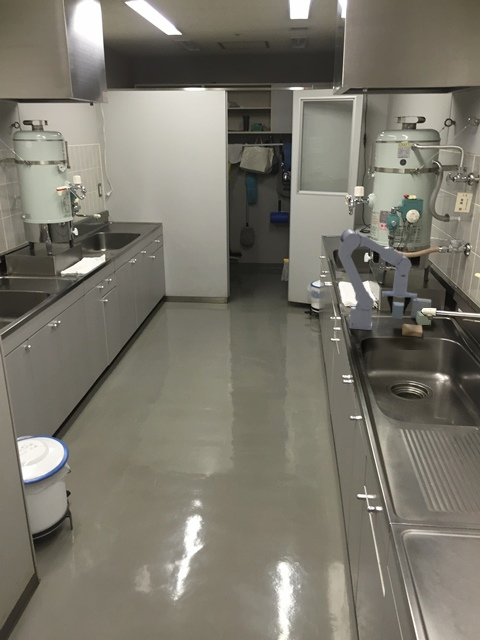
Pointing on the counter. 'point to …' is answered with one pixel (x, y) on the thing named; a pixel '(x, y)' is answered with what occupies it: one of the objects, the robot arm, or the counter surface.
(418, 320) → the green block
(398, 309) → the blue block
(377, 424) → the counter surface
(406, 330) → the oak block
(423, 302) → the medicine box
